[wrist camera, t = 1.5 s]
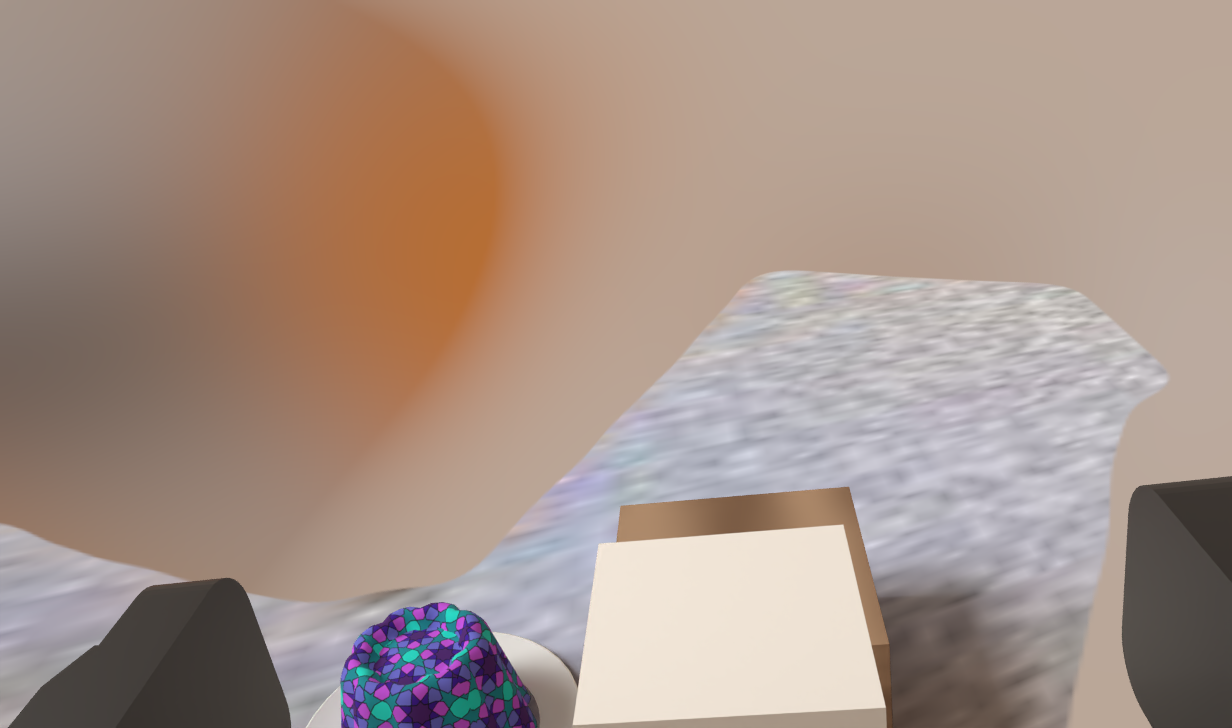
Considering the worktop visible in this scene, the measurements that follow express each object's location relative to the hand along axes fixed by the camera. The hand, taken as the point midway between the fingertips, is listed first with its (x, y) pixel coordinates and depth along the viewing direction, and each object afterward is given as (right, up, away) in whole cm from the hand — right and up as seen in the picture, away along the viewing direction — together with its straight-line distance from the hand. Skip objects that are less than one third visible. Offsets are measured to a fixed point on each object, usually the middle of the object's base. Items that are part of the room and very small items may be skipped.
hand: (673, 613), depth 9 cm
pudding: (-8, -14, +33) cm, 37 cm away
